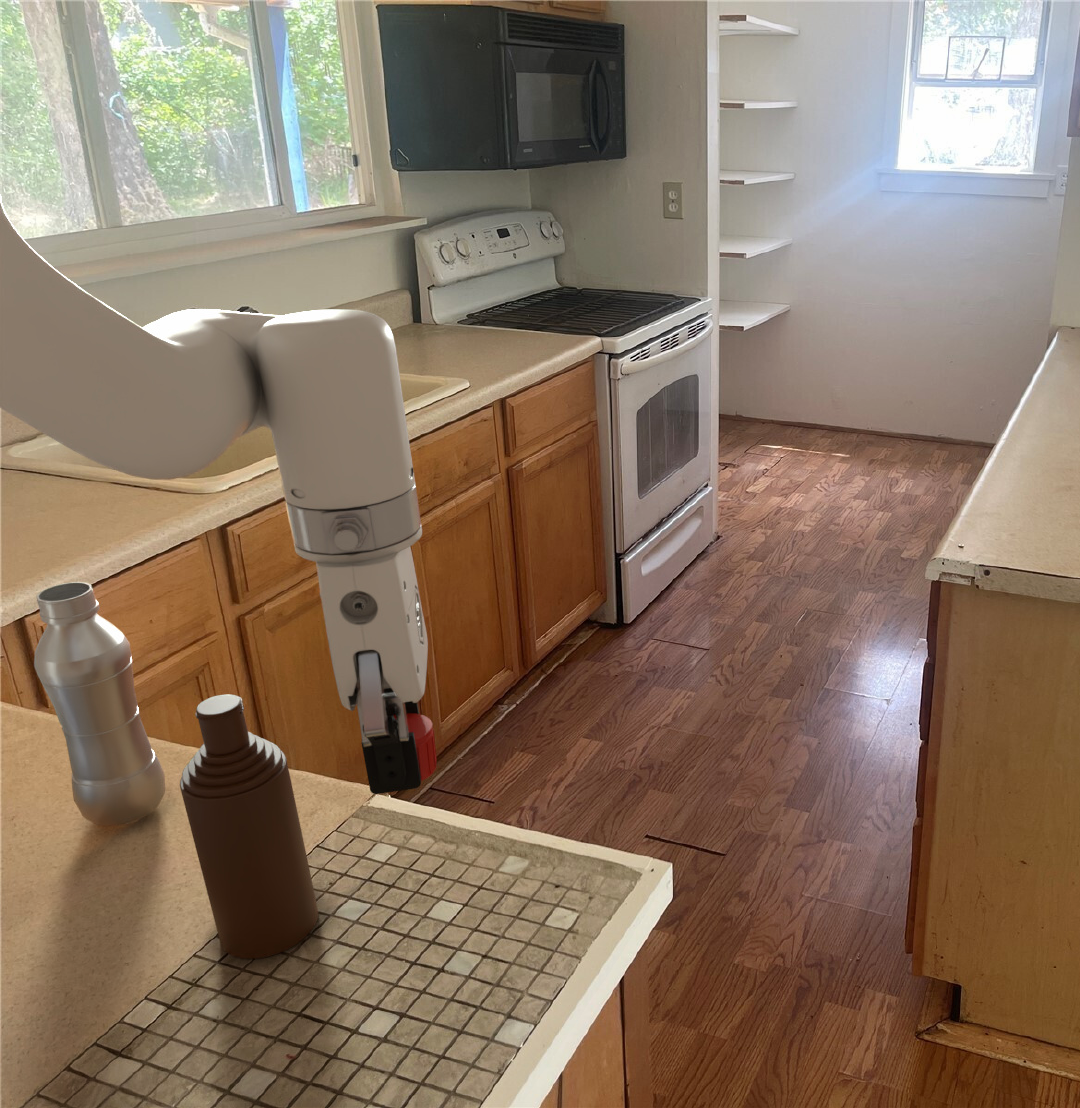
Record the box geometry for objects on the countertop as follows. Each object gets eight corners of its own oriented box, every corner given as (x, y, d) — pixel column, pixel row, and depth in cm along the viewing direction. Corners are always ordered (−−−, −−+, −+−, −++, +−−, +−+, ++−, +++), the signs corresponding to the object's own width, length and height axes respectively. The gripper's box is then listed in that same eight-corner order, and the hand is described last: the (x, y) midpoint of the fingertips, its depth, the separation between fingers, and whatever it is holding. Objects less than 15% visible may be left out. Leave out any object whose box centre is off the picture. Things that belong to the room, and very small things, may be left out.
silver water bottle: (141, 780, 89) (82, 567, 82) (189, 804, 86) (132, 585, 78) (64, 820, 84) (-6, 598, 77) (112, 847, 81) (43, 618, 73)
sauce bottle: (267, 971, 69) (211, 740, 62) (199, 942, 72) (138, 718, 65) (338, 909, 74) (294, 691, 68) (272, 884, 77) (224, 671, 70)
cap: (446, 757, 72) (442, 716, 71) (420, 789, 69) (416, 747, 67) (394, 750, 73) (389, 709, 72) (365, 782, 69) (359, 740, 68)
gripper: (413, 563, 57) (454, 835, 64) (424, 471, 72) (456, 701, 79) (267, 578, 55) (325, 856, 62) (309, 481, 70) (352, 714, 77)
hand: (398, 767), depth 71 cm, fingers closed on cap, 3 cm apart
